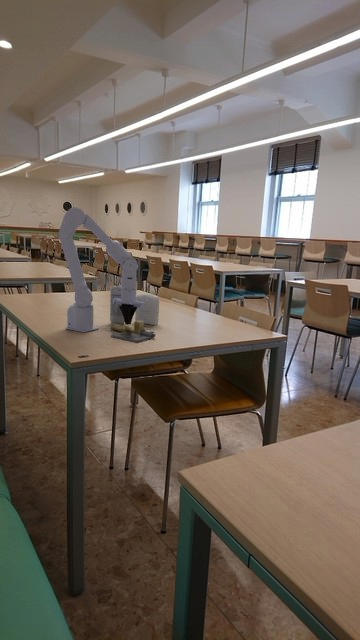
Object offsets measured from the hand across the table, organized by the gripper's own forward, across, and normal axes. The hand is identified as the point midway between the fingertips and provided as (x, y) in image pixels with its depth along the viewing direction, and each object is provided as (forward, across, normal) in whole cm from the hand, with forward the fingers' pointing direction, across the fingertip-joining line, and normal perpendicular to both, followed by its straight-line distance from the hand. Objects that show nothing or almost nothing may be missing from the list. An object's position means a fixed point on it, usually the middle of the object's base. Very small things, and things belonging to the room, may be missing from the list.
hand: (128, 324), depth 159 cm
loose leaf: (+2, -2, +1) cm, 3 cm away
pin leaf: (+2, -10, +9) cm, 13 cm away
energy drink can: (+2, +10, -5) cm, 11 cm away
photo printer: (+2, +2, -14) cm, 14 cm away
